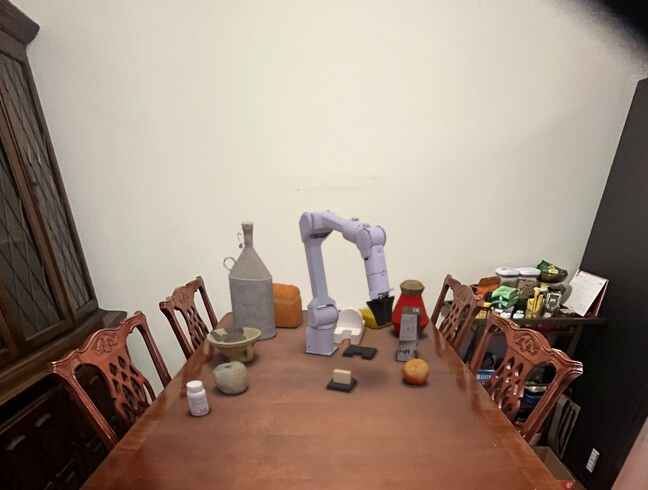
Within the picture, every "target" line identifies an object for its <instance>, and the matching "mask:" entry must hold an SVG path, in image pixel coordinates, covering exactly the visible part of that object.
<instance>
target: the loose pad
mask: <svg viewBox="0 0 648 490" xmlns="http://www.w3.org/2000/svg"><path fill="white" fill-rule="evenodd" d="M332 376H333V377H332V379H331V380H330V381H329V382H328V383H327V384H326V389H327V390H332V391H339V392H344V393H350V392H351V391H352V390H353V388H354V387H355V385H356V384H357V382H358V381H357V378H352V376H353V375H352V371H350V370H343V369H338V368H335V369H334V370H333V373H332Z"/></svg>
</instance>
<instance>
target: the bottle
mask: <svg viewBox="0 0 648 490" xmlns="http://www.w3.org/2000/svg"><path fill="white" fill-rule="evenodd" d="M399 289H400V291H401V293H400V295H399V296H398V299H397V301H396V302H395V305H394V306H393V307H394V308H392V310H393V312H392V323H393V324H392V325H393V328H394V331H395V334H396V335H397V336H399V335H400V325H401V315H402V308H403V306H404V307H421V308H422V315H421V323H420V332H419V337H420V336H421V335H422V333H423V332H424V330H425V329H426V327H427V326H428V324H429V323H430V320H429V317H428V313H427V309H426V306H425V303H424V299H423V296H422V294H423V293H424V291H425V289H426V286H425V285H424V284H423V283H422V282H421V281H420V280H418V279H405V280H403V281H402V282H401V283H400V284H399Z"/></svg>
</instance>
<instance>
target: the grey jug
mask: <svg viewBox="0 0 648 490" xmlns="http://www.w3.org/2000/svg"><path fill="white" fill-rule="evenodd" d="M240 225H241V230H242V232H243V233H240V232H237V233H236V235H237V239H238V241H239V242H240V243H239V245H238V248H239V249H242V251H241V252H240V254H239V256H238V257H237V259H235V258H234V257H233V256H226V257H225V258H224V260H223V263H222V266H224V269H226V270H227V271H228V272H229V273H228V274H227V275H228V276H227V277H228V288H229V295H230V303H231V313H232V321H233V327H246V328H254V329H258V330H260V331H261V336H260V338H258V340H257V341H262V340H268V339H271V338H273V337H275V336H276V334H277V332H276V327H275V314H274V298H273V283H274V282H273V275H272V274H271V272H270V271H269V269H268V267H267V266H266V264H265V263H264V262H263V260H262V258H261V257H260V255H259V254H258V252H257V250H256V249H255V247H254V222H253V221H250V220H245V221H242V222H241V223H240ZM239 235H240V236H242V238H243V242H241V239H240V237H239ZM243 244H244V246H243ZM228 259H230V260H232V261H233V263H234V264H233V265H232V267H231V268H228V266H226V264H225V262H226V260H228Z"/></svg>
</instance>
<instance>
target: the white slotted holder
mask: <svg viewBox="0 0 648 490" xmlns="http://www.w3.org/2000/svg"><path fill="white" fill-rule="evenodd" d="M358 309H359V308H358V307H355V306H352V305H350V306H346V307H343V308H342V309H340V311H339V319H338V321H337V322H336V327H335V328H334V344H342V342H343V340H350V344H349V345H356V346H358V345H360V342H361V340H362V337H363V334H364V332H365V326H364V325H365V320H363V316H362V313H361V312H360V310H358Z"/></svg>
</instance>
